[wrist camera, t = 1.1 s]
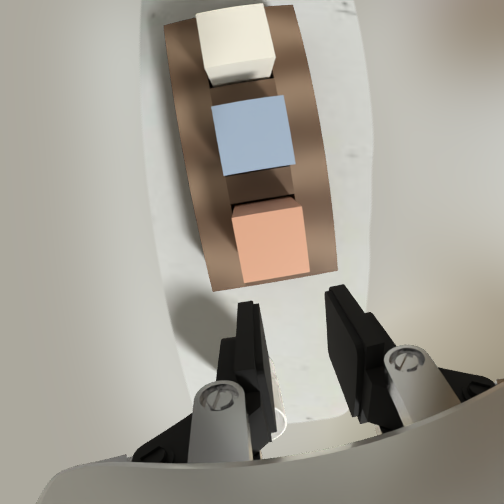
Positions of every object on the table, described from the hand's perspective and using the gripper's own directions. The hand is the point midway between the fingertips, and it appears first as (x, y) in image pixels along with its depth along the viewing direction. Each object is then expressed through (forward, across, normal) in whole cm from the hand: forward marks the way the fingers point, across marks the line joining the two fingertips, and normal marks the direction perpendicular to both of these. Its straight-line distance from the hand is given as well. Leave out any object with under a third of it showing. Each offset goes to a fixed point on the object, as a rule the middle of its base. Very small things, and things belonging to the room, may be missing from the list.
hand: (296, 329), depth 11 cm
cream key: (+17, 0, -16) cm, 23 cm away
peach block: (+17, 0, 0) cm, 17 cm away
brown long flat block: (+21, 0, -8) cm, 23 cm away
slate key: (+17, 0, -8) cm, 19 cm away
